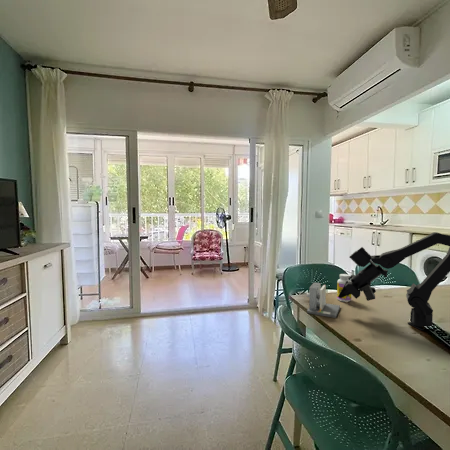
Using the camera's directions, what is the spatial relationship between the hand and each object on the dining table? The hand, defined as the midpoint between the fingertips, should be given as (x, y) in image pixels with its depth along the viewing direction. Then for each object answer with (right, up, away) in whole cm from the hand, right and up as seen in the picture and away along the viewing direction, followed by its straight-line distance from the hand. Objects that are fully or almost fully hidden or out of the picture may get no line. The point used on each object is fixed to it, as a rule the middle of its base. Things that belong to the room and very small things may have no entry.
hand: (339, 297), depth 118 cm
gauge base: (-5, -7, +4) cm, 9 cm away
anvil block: (-9, -6, +5) cm, 12 cm away
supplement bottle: (+10, -6, +17) cm, 21 cm away
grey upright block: (-9, -5, +4) cm, 12 cm away
